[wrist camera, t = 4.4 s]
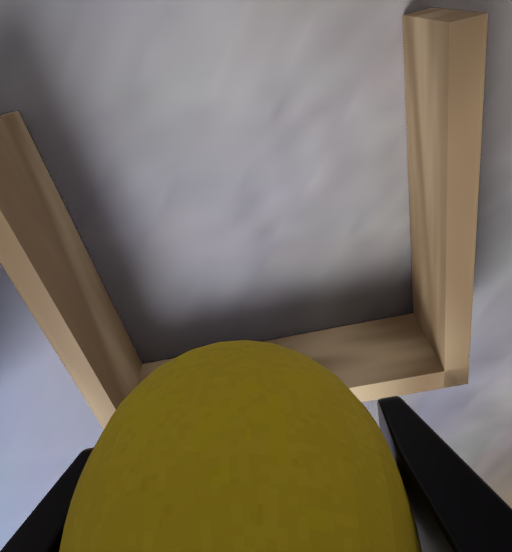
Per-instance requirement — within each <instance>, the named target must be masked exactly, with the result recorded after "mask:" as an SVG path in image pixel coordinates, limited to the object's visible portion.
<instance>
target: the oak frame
mask: <svg viewBox="0 0 512 552" xmlns="http://www.w3.org/2000/svg"><path fill="white" fill-rule="evenodd" d="M487 26H488V13H483V12H473V11H463V10H452V9H442V8H429V9H425V10H421V11H417V12H413V13H409V14H405V15H403V38H404V67H405V95H406V123H407V151H408V179H409V207H410V235H411V264H412V292H413V313H411V314H405V315H400V316H395V317H389V318H384V319H379V320H373V321H368V322H363V323H357V324H352V325H347V326H341V327H336V328H331V329H326V330H320V331H315V332H310V333H304V334H299V335H294V336H288V337H283V338H278V339H272V340H267V341H262V342H267V343H274V344H277V345H279V346H282V347H285V348H288V349H291V350H294V351H297V352H299V353H302V354H304V355H306V356H308V357H309V358H311V359H312V360H314V361H316V362H317V363H319V364H320V365H322V366H324V367H325V368H327V369H328V370H330V371H331V372H332V373H334V374H335V375H336V376H338V377H339V378H340V379H341V381H342V382H343V383H344V384H345V385H346V386H347V387H348V388H349V389H350V390H351V391H352V393H353V394H354V395H355V396H356V397H357V398H358V399H359V400H360V402H365V401H370V400H376V399H381V398H386V397H392V396H399V395H405V394H411V393H417V392H423V391H428V390H434V389H440V388H446V387H452V386H458V385H463V384H468V375H469V357H470V339H471V320H472V302H473V283H474V265H475V247H476V228H477V210H478V192H479V173H480V155H481V137H482V118H483V100H484V81H485V63H486V45H487ZM0 263H1V265H2V267H3V268H4V270H5V271H6V273H7V275H8V276H9V278H10V279H11V281H12V283H13V284H14V286H15V287H16V289H17V291H18V292H19V294H20V295H21V297H22V299H23V300H24V302H25V304H26V305H27V307H28V308H29V310H30V312H31V313H32V315H33V316H34V318H35V320H36V321H37V323H38V324H39V326H40V328H41V329H42V331H43V332H44V334H45V336H46V337H47V339H48V341H49V342H50V344H51V345H52V347H53V349H54V350H55V352H56V353H57V355H58V357H59V358H60V360H61V361H62V363H63V365H64V366H65V368H66V369H67V371H68V373H69V374H70V376H71V378H72V379H73V381H74V382H75V384H76V386H77V387H78V389H79V390H80V392H81V394H82V395H83V397H84V398H85V400H86V402H87V403H88V405H89V406H90V408H91V410H92V411H93V413H94V415H95V416H96V418H97V419H98V421H99V423H100V424H101V426H102V427H103V429H105V427H106V425H107V423H108V422H109V420H110V418H111V416H112V415H113V413H114V412H115V411H116V409H117V408H118V406H119V405H120V403H121V402H122V401H123V400H124V399H125V398H126V397H127V396H128V395H129V393H130V392H131V391H132V390H133V389H134V388H136V387H137V386H138V385H139V384H140V383H141V382H142V381H143V380H144V379H145V378H146V377H147V376H149V375H150V374H151V373H152V372H153V371H154V370H156V369H157V368H158V367H160V366H161V365H162V364H164V363H166V362H168V361H170V360H172V359H174V358H171V359H166V360H161V361H155V362H150V363H145V364H142V362H141V360H140V358H139V356H138V354H137V352H136V350H135V348H134V346H133V344H132V342H131V340H130V338H129V336H128V334H127V332H126V330H125V328H124V326H123V324H122V321H121V319H120V317H119V315H118V313H117V311H116V309H115V307H114V305H113V303H112V301H111V299H110V297H109V295H108V293H107V291H106V289H105V287H104V285H103V283H102V281H101V279H100V277H99V275H98V272H97V270H96V268H95V266H94V264H93V262H92V260H91V258H90V256H89V254H88V252H87V250H86V248H85V246H84V244H83V242H82V240H81V238H80V236H79V234H78V232H77V230H76V228H75V226H74V223H73V221H72V219H71V217H70V215H69V213H68V211H67V209H66V207H65V205H64V203H63V201H62V199H61V197H60V195H59V193H58V191H57V189H56V187H55V185H54V183H53V181H52V179H51V176H50V174H49V172H48V170H47V168H46V166H45V164H44V162H43V160H42V158H41V156H40V154H39V152H38V150H37V148H36V146H35V144H34V142H33V140H32V138H31V136H30V134H29V132H28V130H27V127H26V125H25V123H24V121H23V119H22V117H21V115H20V113H19V111H14V112H10V113H6V114H2V115H0Z"/></svg>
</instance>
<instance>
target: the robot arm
mask: <svg viewBox="0 0 512 552" xmlns="http://www.w3.org/2000/svg"><path fill="white" fill-rule="evenodd" d="M377 404H378V414H379V424H380V430H381V432H382V434H383V435H384V437H385V439H386V441H387V444H388V446H389V448H390V450H391V452H392V455H393V457H394V459H395V462H396V465H397V467H398V470H399V473H400V476H401V478H402V481H403V484H404V487H405V489H406V492H407V495H408V498H409V501H410V504H411V507H412V511H413V514H414V518H415V522H416V525H417V529H418V534H419V539H420V544H421V549H422V552H512V509H511V508H510V507H509V506H508V505H507V504H506V503H505V502H504V501H503V500H502V499H501V498H500V497H499V496H498V495H497V494H496V493H495V492H494V491H493V490H492V489H491V488H490V487H489V486H488V485H487V484H486V483H485V482H484V481H483V480H482V479H481V478H480V477H479V476H478V475H477V474H476V473H475V472H474V471H473V470H472V469H471V468H470V467H469V466H468V465H467V464H466V463H465V462H464V461H463V460H462V459H461V458H460V457H459V456H458V455H457V454H456V453H455V452H454V451H453V450H452V449H451V448H450V447H449V446H448V445H447V444H446V443H445V442H444V441H443V440H442V439H441V438H440V437H439V436H438V435H437V434H436V433H435V432H434V431H433V430H432V429H431V428H430V427H429V426H428V425H427V424H426V423H425V422H424V421H423V420H422V419H421V418H420V417H419V416H418V415H417V414H416V413H415V412H414V411H413V410H412V409H411V408H410V407H409V406H408V405H407V404H406V403H405V402H404V401H403V400H402V399H401V398H400V397H398V396H392V397H386V398H381V399H379V400H378V403H377ZM93 449H94V448H88V449H85V450H83V451H82V452H81V453H80V454H79V455H78V456H77V458H76V459H75V460H74V461H73V463H72V464H71V465H70V466H69V468H68V469H67V470H66V471H65V472H64V474H63V475H62V476H61V477H60V479H59V480H58V481H57V482H56V484H55V485H54V486H53V487H52V488H51V490H50V491H49V492H48V493H47V495H46V496H45V497H44V498H43V499H42V501H41V502H40V503H39V504H38V506H37V507H36V508H35V509H34V511H33V512H32V513H31V514H30V515H29V517H28V518H27V519H26V520H25V522H24V523H23V524H22V525H21V526H20V528H19V529H18V530H17V531H16V533H15V534H14V535H13V536H12V538H11V539H10V540H9V541H8V542H7V544H6V545H5V546H4V547H3V549H2V550H1V551H0V552H59V550H60V545H61V540H62V535H63V529H64V525H65V521H66V518H67V514H68V510H69V507H70V503H71V500H72V497H73V494H74V491H75V489H76V486H77V483H78V480H79V478H80V475H81V473H82V471H83V469H84V466H85V464H86V462H87V460H88V458H89V456H90V454H91V452H92V450H93Z"/></svg>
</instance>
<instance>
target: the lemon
mask: <svg viewBox="0 0 512 552" xmlns="http://www.w3.org/2000/svg"><path fill="white" fill-rule="evenodd" d="M59 552H422V549H421V544H420V539H419V534H418V529H417V525H416V522H415V518H414V514H413V511H412V507H411V504H410V501H409V498H408V495H407V492H406V489H405V487H404V484H403V481H402V478H401V476H400V473H399V470H398V467H397V465H396V462H395V459H394V457H393V455H392V452H391V450H390V448H389V446H388V444H387V441H386V439H385V437H384V435H383V434H382V432H381V430H380V428H379V427H378V425H377V423H376V421H375V420H374V418H373V417H372V416H371V414H370V413H369V411H368V410H367V409H366V407H365V406H364V405H363V404H362V403H361V402H360V400H359V399H358V398H357V397H356V396H355V395H354V394H353V393H352V391H351V390H350V389H349V388H348V387H347V386H346V385H345V384H344V383H343V382H342V381H341V379H340V378H339V377H338V376H336V375H335V374H334V373H332V372H331V371H330V370H328V369H327V368H325V367H324V366H322V365H320V364H319V363H317V362H316V361H314V360H312V359H311V358H309V357H308V356H306V355H304V354H302V353H299V352H297V351H294V350H291V349H288V348H285V347H282V346H279V345H277V344H274V343H267V342H259V341H251V340H238V341H224V342H217V343H213V344H209V345H206V346H202V347H198V348H195V349H192V350H190V351H187V352H185V353H183V354H182V355H180V356H178V357H176V358H174V359H172V360H170V361H168V362H166V363H164V364H162V365H161V366H160V367H158V368H157V369H156V370H154V371H153V372H152V373H151V374H150V375H149V376H147V377H146V378H145V379H144V380H143V381H142V382H141V383H140V384H139V385H138V386H137V387H136V388H134V389H133V390H132V391H131V392H130V393H129V395H128V396H127V397H126V398H125V399H124V400H123V401H122V402H121V403H120V405H119V406H118V408H117V409H116V411H115V412H114V413H113V415H112V416H111V418H110V420H109V422H108V423H107V425H106V427H105V429H104V431H103V432H102V434H101V436H100V438H99V440H98V441H97V443H96V445H95V447H94V449H93V450H92V452H91V454H90V456H89V458H88V460H87V462H86V464H85V466H84V469H83V471H82V473H81V475H80V478H79V480H78V483H77V486H76V489H75V491H74V494H73V497H72V500H71V503H70V507H69V510H68V514H67V518H66V521H65V525H64V529H63V535H62V540H61V545H60V550H59Z"/></svg>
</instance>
